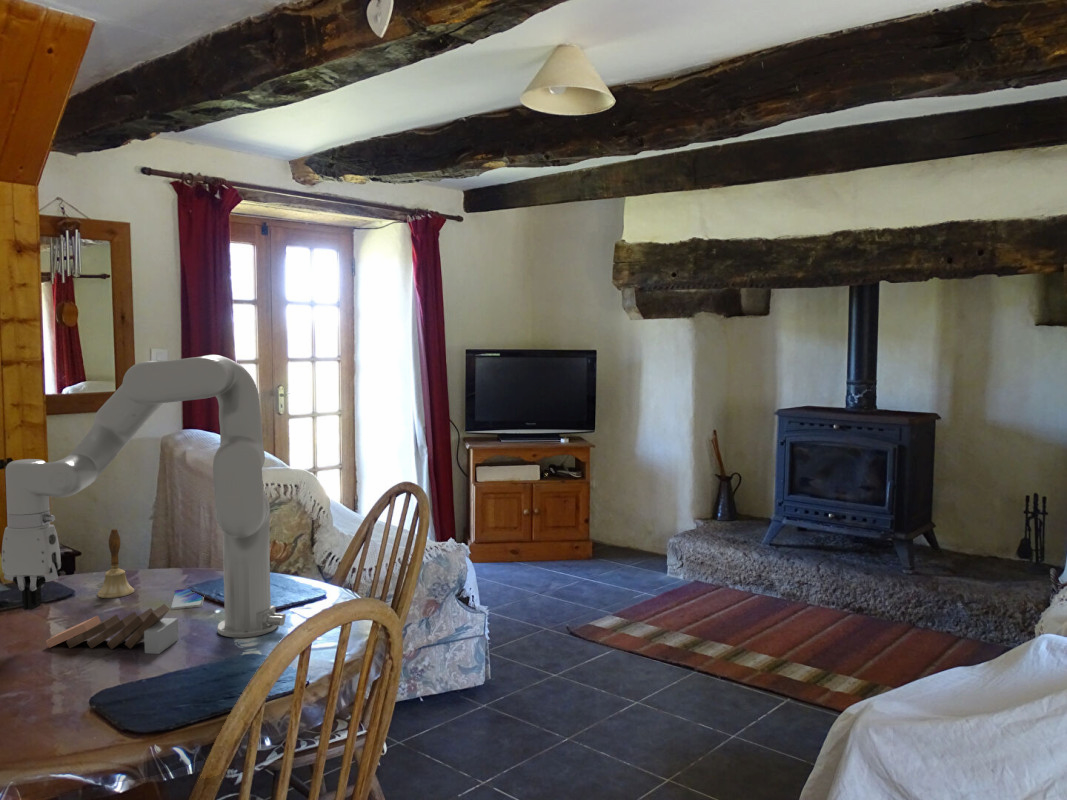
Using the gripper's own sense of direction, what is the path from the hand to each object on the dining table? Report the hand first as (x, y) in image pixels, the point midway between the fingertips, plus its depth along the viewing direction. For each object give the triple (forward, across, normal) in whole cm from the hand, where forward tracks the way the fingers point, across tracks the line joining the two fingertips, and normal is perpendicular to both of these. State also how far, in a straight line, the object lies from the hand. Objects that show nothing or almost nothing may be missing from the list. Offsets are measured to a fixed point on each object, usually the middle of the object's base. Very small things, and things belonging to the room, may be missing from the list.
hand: (32, 607), depth 176 cm
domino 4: (+7, -18, 0) cm, 19 cm away
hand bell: (+8, +1, -34) cm, 35 cm away
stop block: (+7, -27, 0) cm, 28 cm away
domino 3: (+7, -13, 0) cm, 15 cm away
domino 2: (+7, -9, 0) cm, 11 cm away
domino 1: (+7, -5, 0) cm, 8 cm away
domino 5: (+7, -21, 0) cm, 22 cm away
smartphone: (+8, -18, -31) cm, 37 cm away
